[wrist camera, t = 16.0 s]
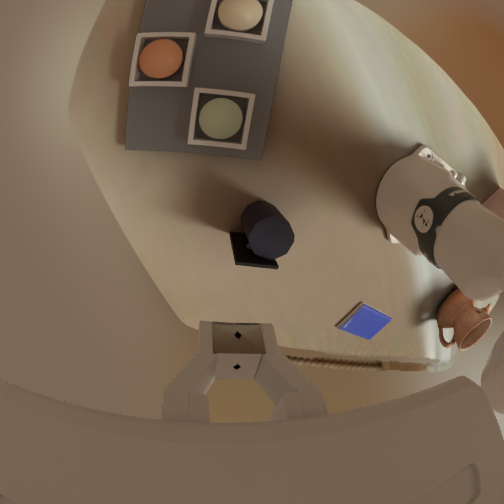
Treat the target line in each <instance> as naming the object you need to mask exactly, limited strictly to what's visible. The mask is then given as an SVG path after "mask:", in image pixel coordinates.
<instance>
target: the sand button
mask: <svg viewBox="0 0 504 504" xmlns="http://www.w3.org/2000/svg"><path fill="white" fill-rule="evenodd" d="M262 14H263V9H262V6H261V4H260V3H259V2H258V1H257V0H223V2H222V3H221V4H220V6H219V9H218V18H219V22H220V23H221V25H222V26H223V27H224V28H226V29H228V30H230V31H233V32H246V31H249V30H251V29H253V28H254V27H255V26H256V25H257V24H258V23H259V21H260V19H261V17H262Z"/></svg>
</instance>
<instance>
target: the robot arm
mask: <svg viewBox="0 0 504 504" xmlns="http://www.w3.org/2000/svg"><path fill="white" fill-rule="evenodd" d="M427 156H428V157H427ZM465 182H466V177H465V176H463V175H462V174H460V173H459V172H456V171H455V170H454V169H453V168H452V167H450V166H449V165H448V164H447V163H446V162H445V161H444V160H442V159H441V158H440V157H439V156H438V155H437V154H435V153H434V152H433V151H432V150H430V149H429V148H428V147H426V146H424V145H422V146H420V147H419V148H417V149H416V150H415V151H414V153H413V154H411V155H410V156H407V157H405V158H402V159H400V160H399V161H397V162H396V163H395V164H393V165H392V166H391V167H390V168H389V169H388V171H387V172H386V173H385V175H384V177H383V178H382V180H381V183H380V185H379V188H378V192H377V198H376V208H377V213H378V216H379V218H380V220H381V222H382V223H383V225H384V226H385V228H386V231H387V237H388V240H389V241H390V242H392V243H401V244H403V245H404V246H405V247H406V248H407V249H408V250H409V251H411V252H412V253H413V254H414V255H416V256H419V255H424V256H425V257H426V258H427V260H428V261H429V262H430V263H432V264H433V265H435V266H436V267H437V268H439V269H442V270H443V271H444V272H445V273H446V275H447V276H448V277H449V278H450V279H451V280H452V281H453V282H454V284H455V285H456V286H457V287H458V288H459V289H460V290H461V292H462V293H463V294H464V295H465V296H466V297H468V298H469V299H472V300H479V301H483V300H487V299H490V298H492V297H494V296H496V295H498V294H499V293H501V292H502V291H503V292H504V219H502V218H500V217H499V216H497V215H496V214H494V213H493V212H491V211H490V210H488V209H487V208H485V207H484V206H482V205H481V203H480V201H479V200H478V199H477V198H476V197H475V196H474V195H473V194H471V193H470V192H469V191H468V190H467V189H466V188H465ZM214 378H216V379H217V378H218V379H222V378H223V379H224V378H238V379H239V378H240V379H241V378H242V379H254V380H255V381H256V382H257V384H258V385H259V386H260V387H261V389H262V390H263V391H264V392H265V393H266V395H267V396H268V397H269V399H270V400H271V401H272V402H273V403H274V404H275V406H276V408H275V409H274V411H273V413H272V414H271V416H270V418H269V421H263V422H243V423H210V422H209V402H208V396H206V395H205V393H206V391H207V390H208V389H209V387H210V385H211V384H212V382H213V381H214ZM493 410H495V411H496V412H498V413H502V414H504V331H503V332H502V334H501V335H500V337H499V338H498V340H497V341H496V343H495V345H494V347H493V350H492V352H491V354H490V356H489V358H488V360H487V363H486V365H485V367H484V369H483V372H482V377H481V387H480V386H478V385H477V384H476V383H474V382H473V381H471V380H470V379H469V378H467V377H465V376H459V377H456V378H454V379H452V380H449V381H447V382H444V383H442V384H439V385H436V386H433V387H431V388H428V389H425V390H422V391H419V392H416V393H413V394H410V395H407V396H404V397H401V398H397V399H393V400H390V401H386V402H382V403H379V404H375V405H371V406H366V407H362V408H358V409H353V410H348V411H343V412H338V413H333V414H328V411H327V408H326V405H325V401H324V398H323V395H322V391H321V389H320V388H319V387H318V386H317V385H316V384H315V383H314V382H313V381H312V380H311V379H309V378H308V377H307V376H306V375H305V374H304V373H303V372H302V371H301V370H300V369H298V368H297V367H296V366H295V365H294V364H293V363H292V362H291V361H290V360H289V359H288V358H287V357H286V356H285V355H284V354H280V353H279V349H278V345H277V340H276V336H275V332H274V328H273V325H272V324H263V323H260V324H259V323H224V322H208V321H200V324H199V346H198V353H195V354H194V355H193V356H192V358H190V360H189V361H188V362H187V363H186V364H185V366H184V367H183V368H182V369H181V370H180V371H179V373H178V374H177V375H176V376H175V377H174V378H173V380H172V381H171V382H170V383H169V384H168V386H167V387H166V388H165V389H164V391H163V405H162V418H161V419H152V418H144V417H136V416H130V415H123V414H118V413H112V412H107V411H102V410H98V409H93V408H89V407H84V406H80V405H76V404H72V403H69V402H65V401H62V400H58V399H55V398H52V397H48V396H46V395H43V394H39V393H37V392H34V391H31V390H28V389H26V388H23V387H20V386H18V385H15V384H13V383H10V382H8V381H6V380H3V379H1V378H0V504H504V440H503V437H502V434H501V430H500V427H499V425H498V422H497V419H496V417H495V414H494V412H493Z"/></svg>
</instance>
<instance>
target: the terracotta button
mask: <svg viewBox="0 0 504 504" xmlns="http://www.w3.org/2000/svg"><path fill="white" fill-rule="evenodd" d="M183 62H184V54H183V51H182V49H181V48H180V47H179V45H178V44H177V43H175V42H174V41H172V40H169V39H159V40H155V41H153V42H151V43H150V44H148V45H147V46H146V47H145V48H144V49H143V51H142V53H141V55H140V58H139V64H140V68H141V70H142V71H143V72H144V73H145V74H146V75H148V76H150V77H153V78H158V79H164V78H168V77H171V76H172V75H174V74H176V73H177V72H178V71H179V70H180V68H181V67H182V65H183Z"/></svg>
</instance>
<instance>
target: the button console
mask: <svg viewBox="0 0 504 504" xmlns="http://www.w3.org/2000/svg"><path fill="white" fill-rule="evenodd" d="M257 1H258V2H259V3H260V4H261V6H262V9H263V14H262V17H261V19H260V21H259V23H258V24H257V25H256V26H255V27H254V28H253V29H251V30H249V31H246V32H233V31H230V30H228V29H226V28H224V27H223V26H222V25H221V23H220V22H219V18H218V9H219V6H220V4H221V3H222V2H223V0H146V3H145V6H144V10H143V14H142V19H141V23H140V28H139V32H138V33H137V36H136V41H135V46H134V52H133V58H132V64H131V71H130V78H129V86H130V89H129V98H128V108H127V121H126V138H125V150H150V151H171V152H187V153H199V154H211V155H221V156H230V157H239V158H247V159H254V160H262V155H263V150H264V145H265V139H266V134H267V129H268V124H269V118H270V113H271V108H272V102H273V97H274V92H275V87H276V82H277V76H278V71H279V66H280V61H281V56H282V51H283V46H284V41H285V36H286V31H287V25H288V20H289V15H290V10H291V6H292V1H293V0H257ZM159 39H169V40H172V41H174V42H175V43H177V44H178V45H179V47H180V48H181V49H182V51H183V54H184V62H183V65H182V67H181V68H180V70H179V71H178V72H177V73H176V74H174V75H172V76H171V77H168V78H164V79H158V78H153V77H150V76H148V75H146V74H145V73H144V72H143V71H142V70H141V68H140V64H139V58H140V55H141V53H142V51H143V49H144V48H145V47H146V46H147V45H148V44H150V43H151V42H153V41H155V40H159ZM217 98H226V99H229V100H232V101H233V102H235V103H236V104H237V105H238V106H239V108H240V109H241V112H242V117H243V119H242V124H241V127H240V129H239V130H238V131H237V132H236V133H235V134H234V135H233V136H231V137H229V138H225V139H215V138H212V137H210V136H208V135H207V134H205V133H204V132H203V130H202V129H201V127H200V124H199V115H200V112H201V110H202V108H203V107H204V105H205V104H207V103H208V102H209V101H211V100H213V99H217Z"/></svg>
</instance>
